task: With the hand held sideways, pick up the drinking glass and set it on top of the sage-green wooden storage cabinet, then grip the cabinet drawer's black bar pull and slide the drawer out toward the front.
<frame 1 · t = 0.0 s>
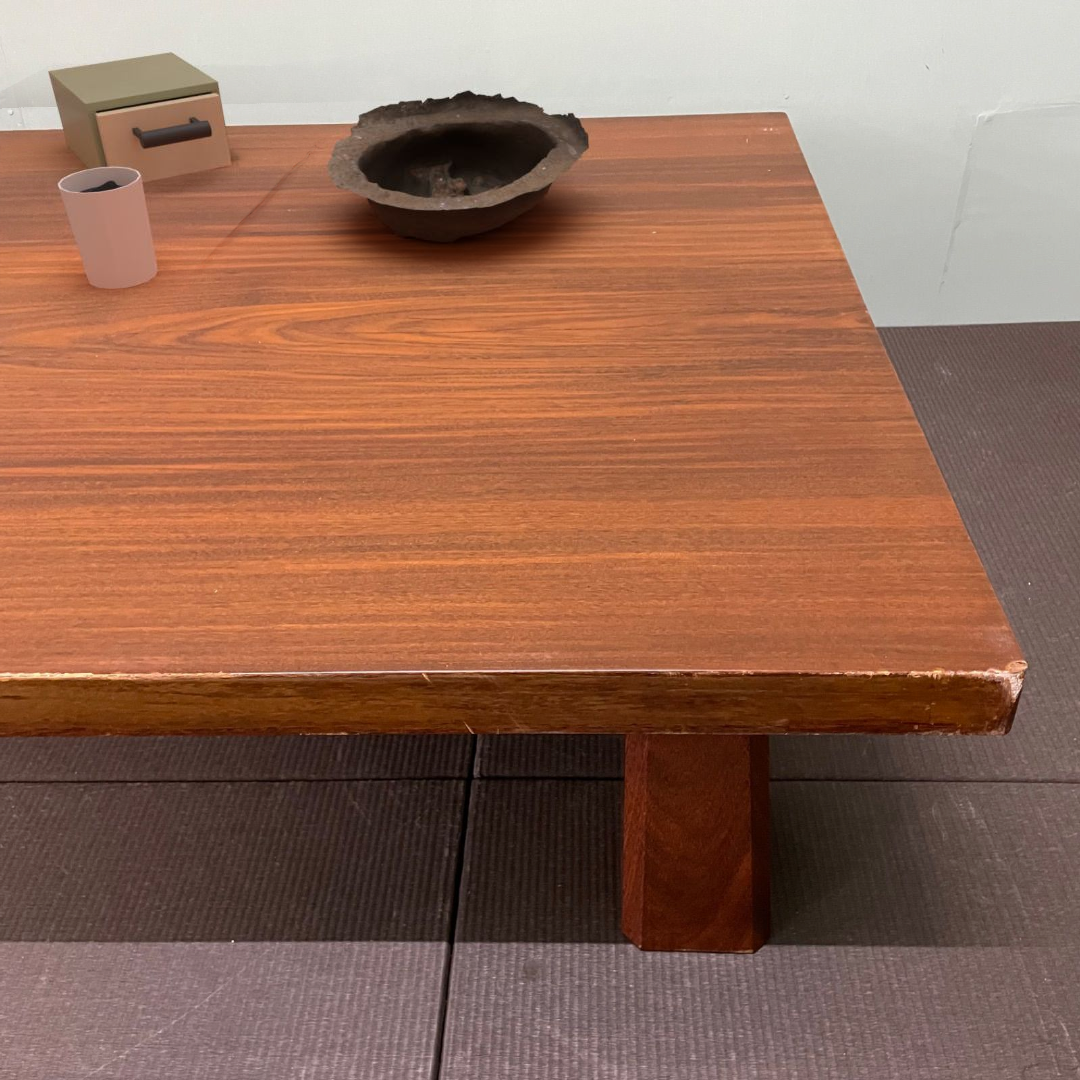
drawer: (153, 132, 125), point 5 cm above the table, slide at 0.5 cm
stone bowl: (460, 220, 116), on the table
drinking glass: (127, 294, 103), on the table
cabinet: (151, 167, 131), on the table
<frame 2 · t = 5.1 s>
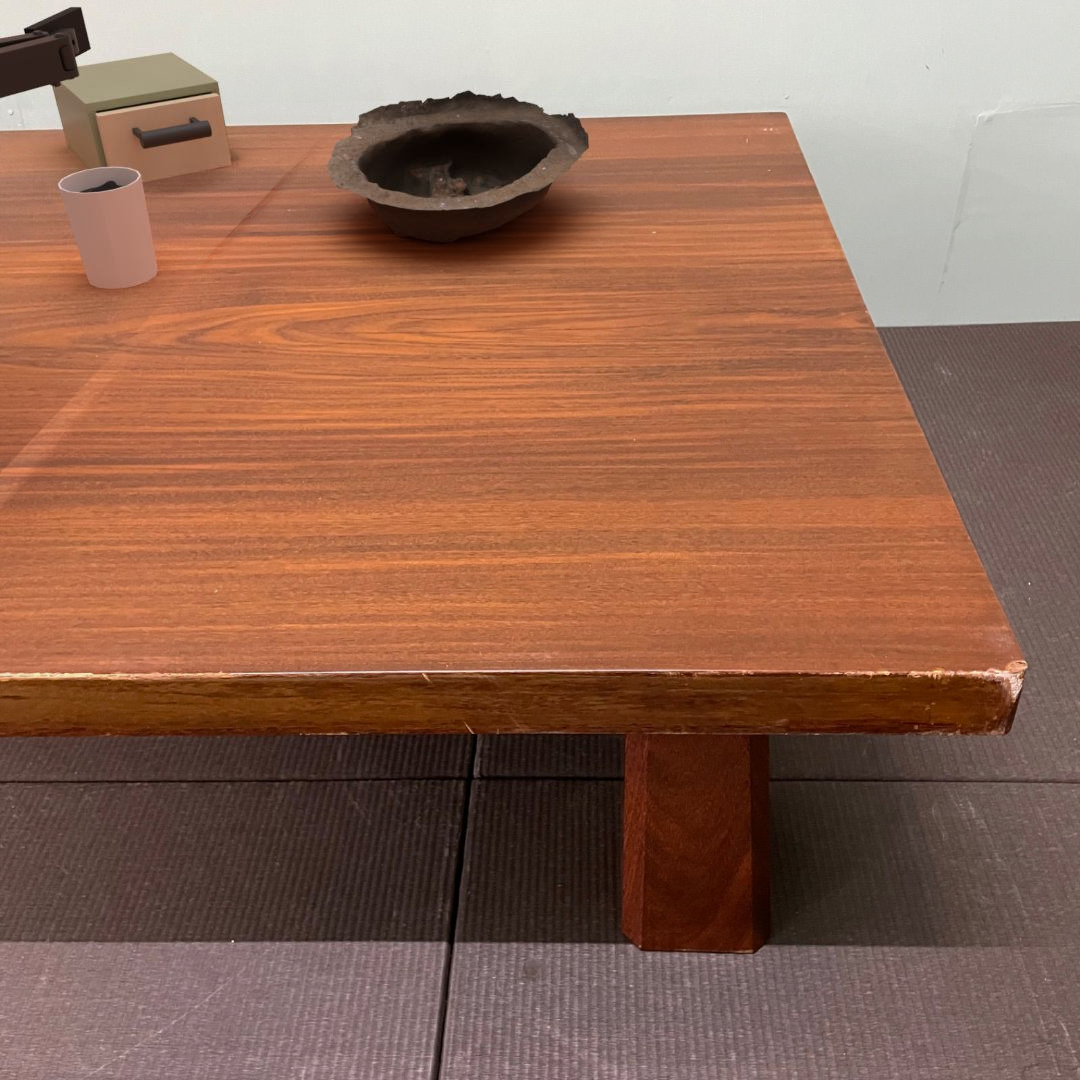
nothing on the table moved.
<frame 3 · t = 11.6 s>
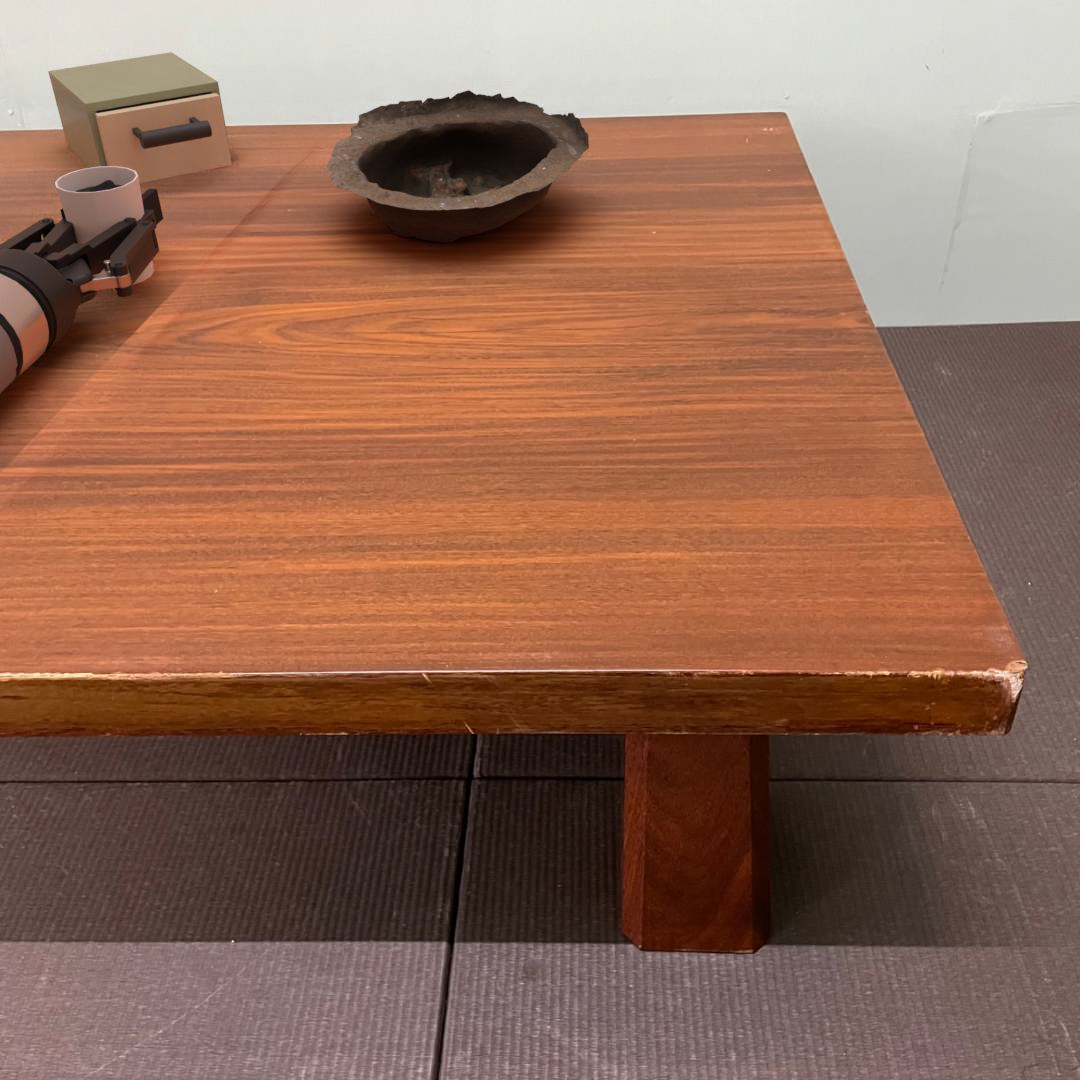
hand: (138, 203, 104), 6 cm above the table, tool horizontal, fingers closed on drinking glass, 3 cm apart
drinking glass: (123, 293, 103), on the table, touching gripper
everything else where it was.
when the fingers open (16 cm above the table, at t = 21.1 s): drinking glass stays where it is, resting on cabinet.
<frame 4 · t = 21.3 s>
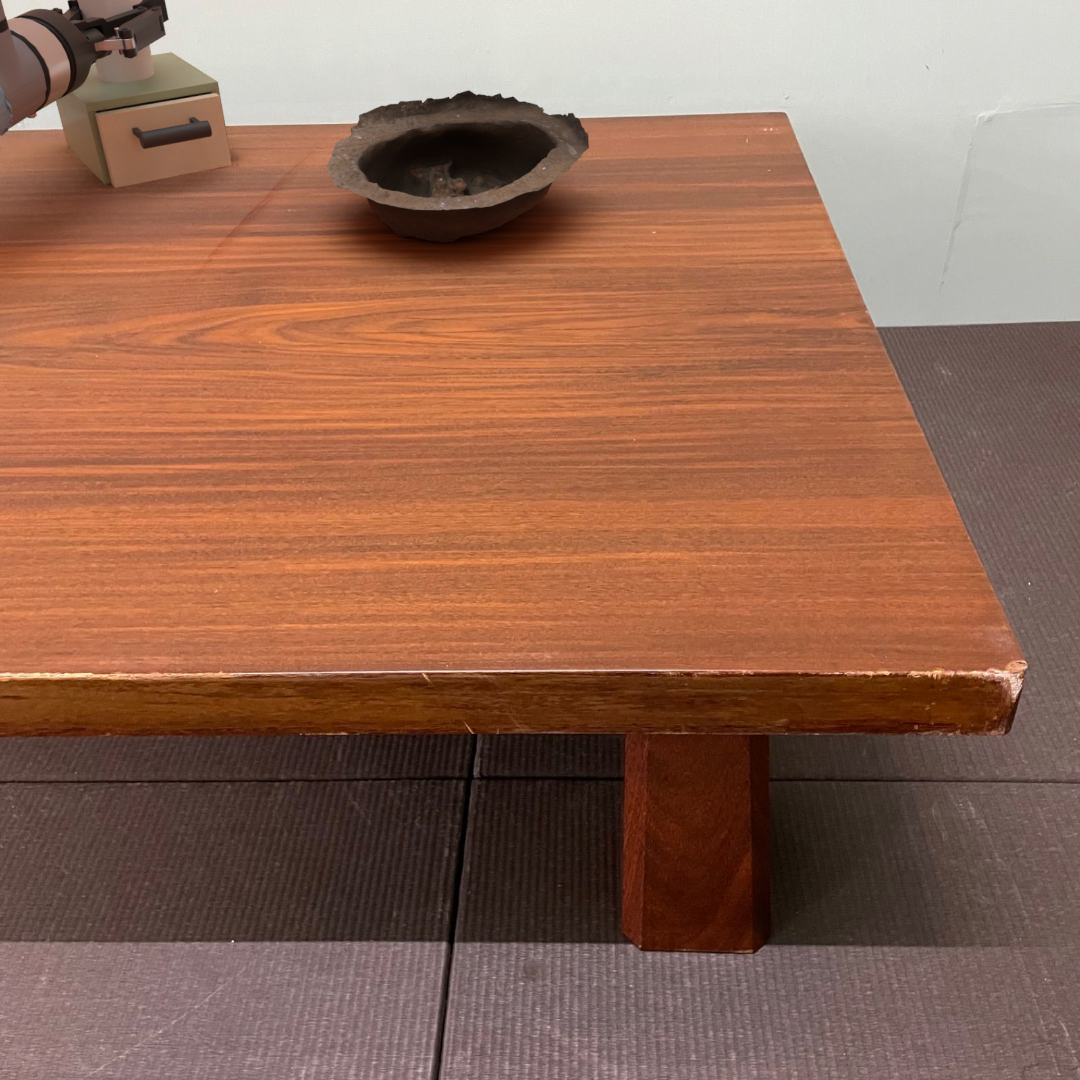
hand: (139, 6, 126), 16 cm above the table, tool horizontal, fingers open, 5 cm apart
drinking glass: (127, 77, 125), point 10 cm above the table, touching cabinet
everything else where it was.
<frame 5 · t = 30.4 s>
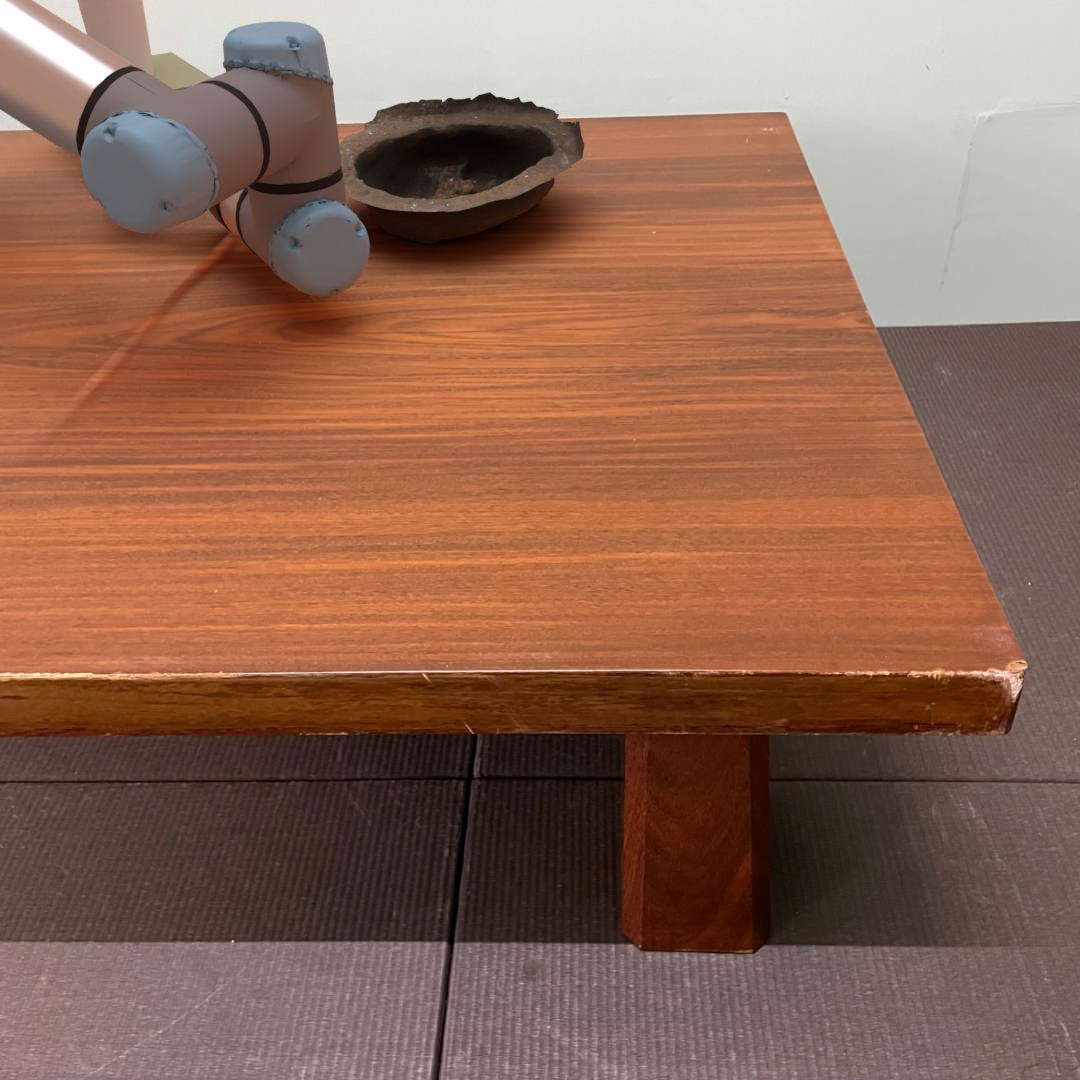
hand: (183, 139, 116), 7 cm above the table, tool horizontal, fingers open, 13 cm apart
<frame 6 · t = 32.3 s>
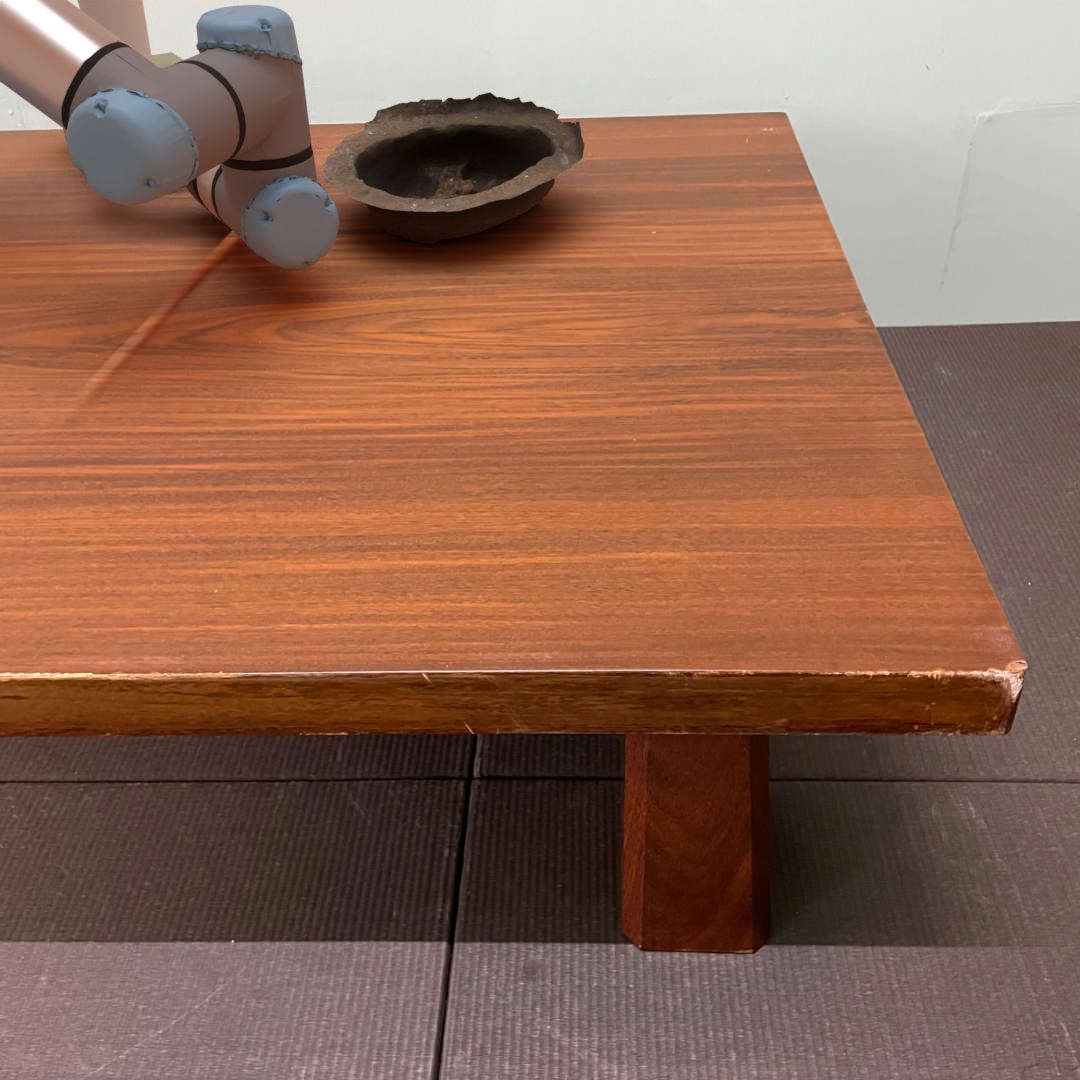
hand: (163, 122, 120), 7 cm above the table, tool horizontal, fingers closed on drawer, 13 cm apart
drawer: (153, 132, 125), point 5 cm above the table, slide at 0.5 cm, touching gripper
everything else where it was.
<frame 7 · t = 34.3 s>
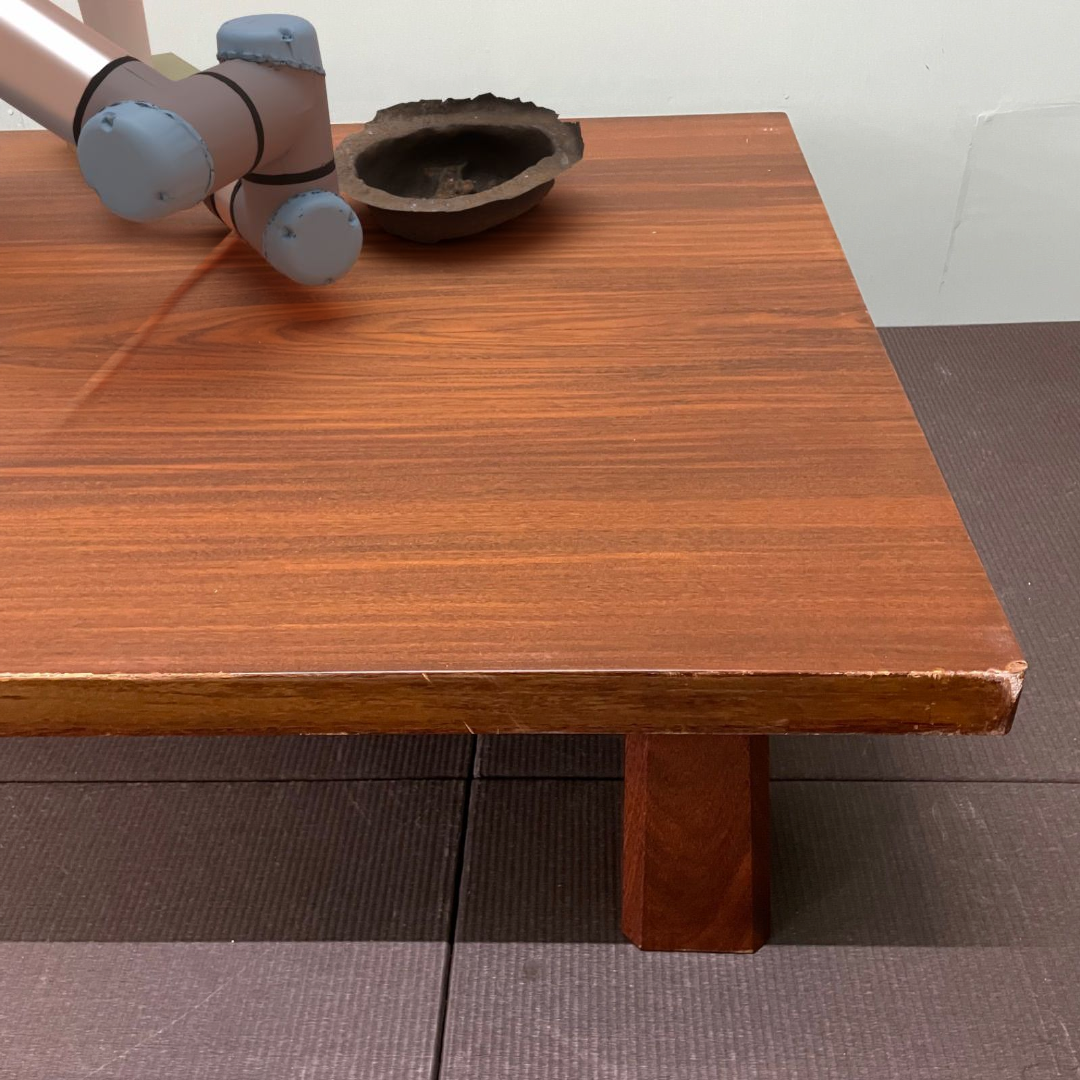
hand: (177, 133, 117), 7 cm above the table, tool horizontal, fingers closed on drawer, 13 cm apart
drawer: (166, 143, 122), point 5 cm above the table, slide at 4.9 cm, touching gripper
everything else where it was.
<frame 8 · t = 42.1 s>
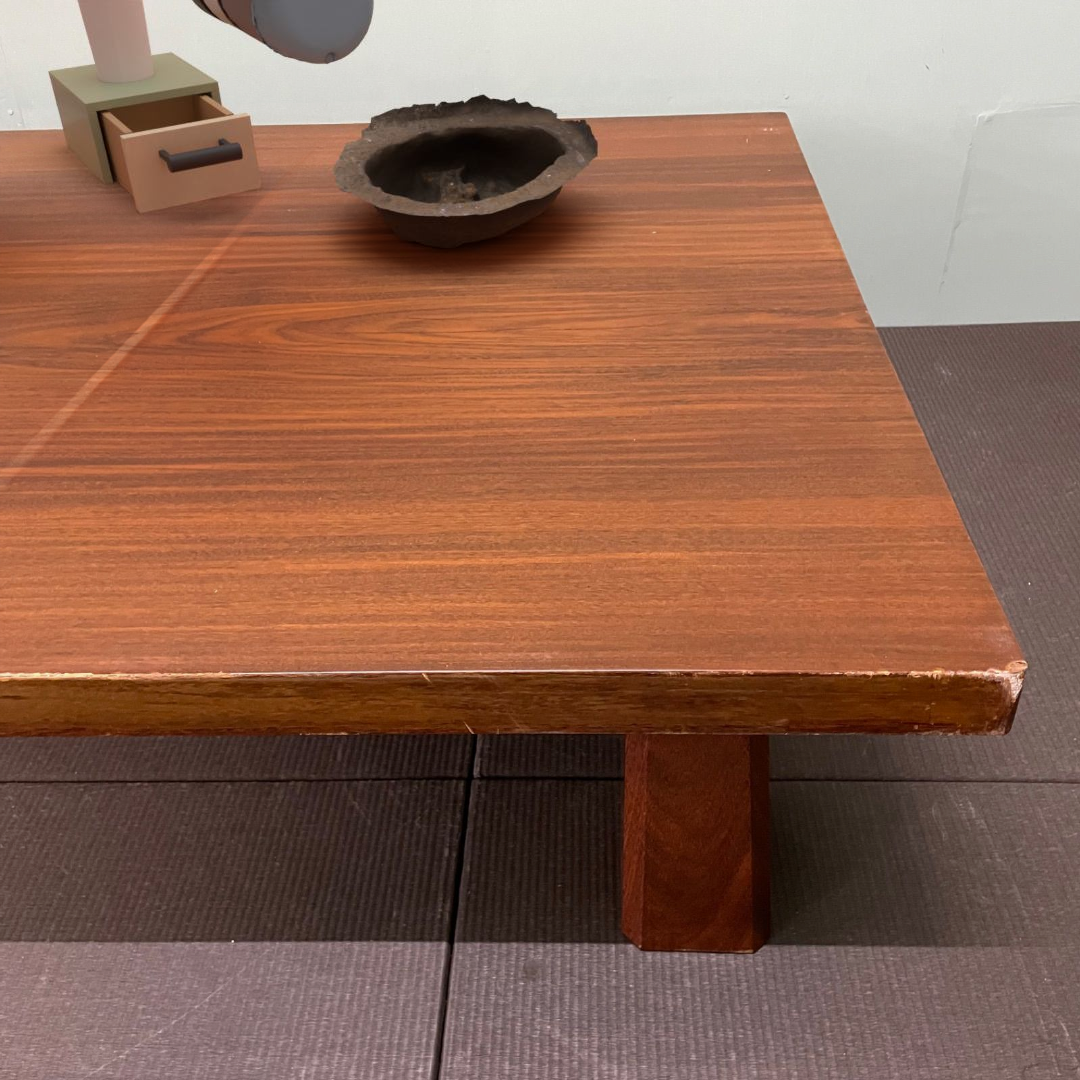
drawer: (180, 154, 118), point 5 cm above the table, slide at 9.5 cm
stone bowl: (468, 226, 114), on the table
everything else where it was.
at the end: drawer slide at 9.5 cm; drinking glass inside the target area on the cabinet (0.5 cm from its centre), point 9.6 cm above the cabinet's base; drinking glass tilted 0° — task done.
